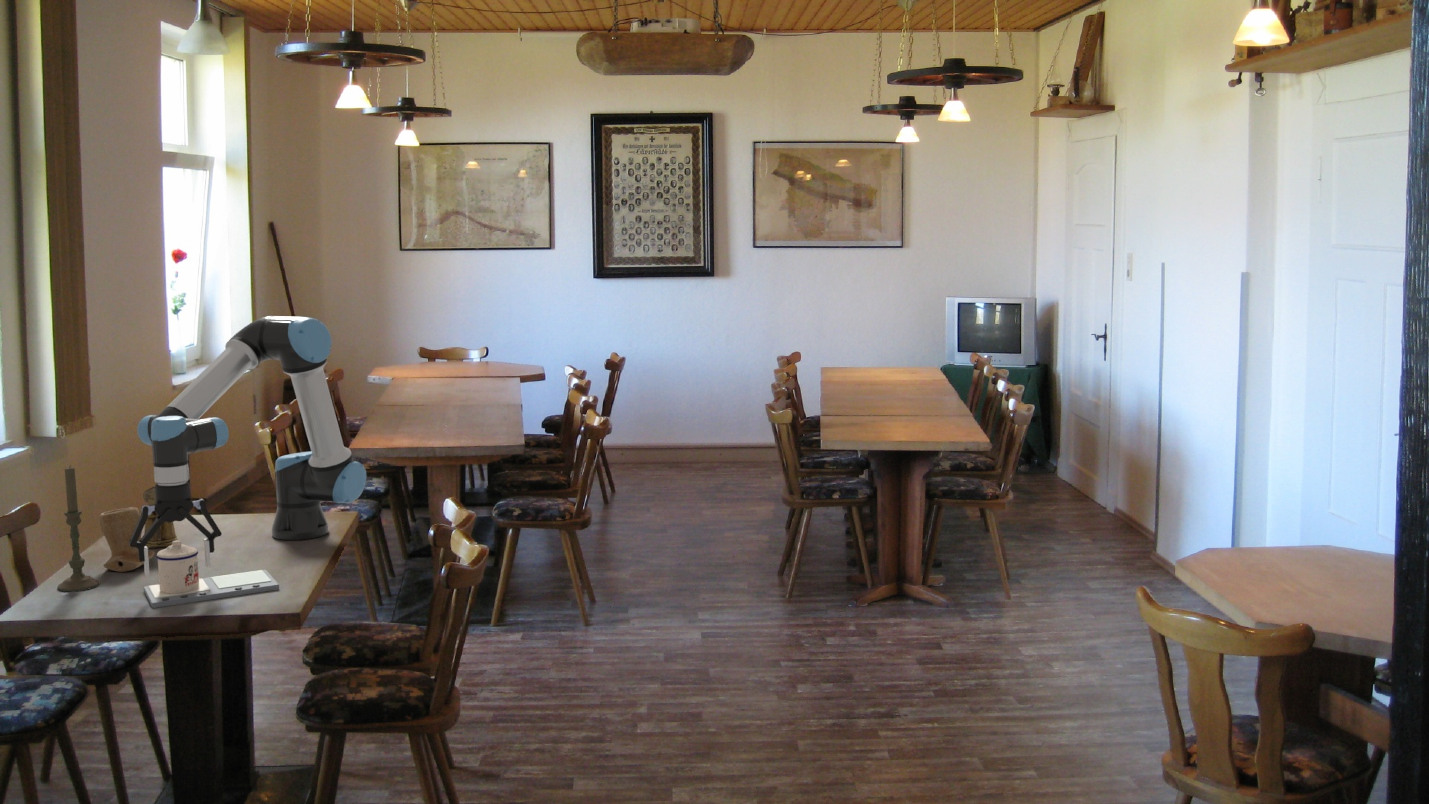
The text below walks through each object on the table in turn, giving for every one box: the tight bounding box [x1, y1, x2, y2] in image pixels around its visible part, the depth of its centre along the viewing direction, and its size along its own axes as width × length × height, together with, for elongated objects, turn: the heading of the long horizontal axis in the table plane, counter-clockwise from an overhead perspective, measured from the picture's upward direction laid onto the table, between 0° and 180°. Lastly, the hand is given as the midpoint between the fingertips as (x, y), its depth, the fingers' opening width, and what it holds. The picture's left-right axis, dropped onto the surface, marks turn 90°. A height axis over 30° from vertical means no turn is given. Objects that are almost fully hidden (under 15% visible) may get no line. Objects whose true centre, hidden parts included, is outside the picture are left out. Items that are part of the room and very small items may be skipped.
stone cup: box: [99, 506, 155, 573], centre depth 316 cm, size 15×12×15 cm
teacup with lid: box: [156, 539, 200, 594], centre depth 293 cm, size 12×9×12 cm
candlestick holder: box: [57, 464, 100, 592], centre depth 297 cm, size 9×9×30 cm
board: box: [143, 569, 280, 609], centre depth 296 cm, size 28×15×1 cm, turn 121°
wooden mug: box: [142, 486, 178, 549], centre depth 335 cm, size 9×14×18 cm, turn 20°
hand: (177, 570), depth 293 cm, fingers open, 13 cm apart
